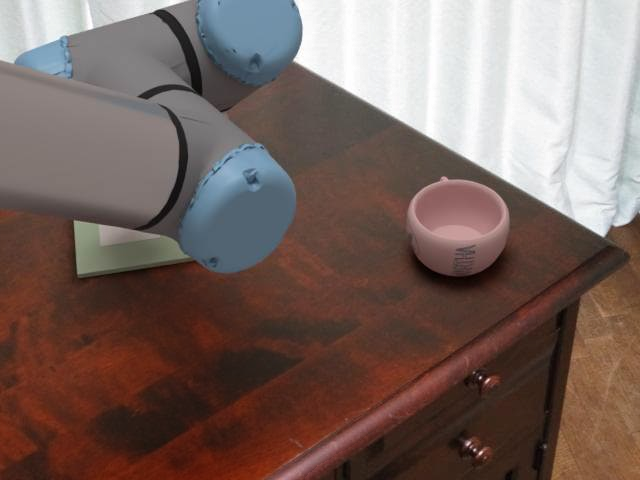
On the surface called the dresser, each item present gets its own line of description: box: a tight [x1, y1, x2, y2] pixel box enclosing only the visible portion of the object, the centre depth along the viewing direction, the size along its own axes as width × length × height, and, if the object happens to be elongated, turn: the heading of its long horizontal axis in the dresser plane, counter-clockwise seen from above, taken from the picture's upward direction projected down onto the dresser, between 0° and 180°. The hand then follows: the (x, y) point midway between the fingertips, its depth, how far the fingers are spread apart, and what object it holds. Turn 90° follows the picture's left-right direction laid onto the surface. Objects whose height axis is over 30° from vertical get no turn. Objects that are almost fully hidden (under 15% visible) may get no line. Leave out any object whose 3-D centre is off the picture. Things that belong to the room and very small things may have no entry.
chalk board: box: [73, 220, 197, 279], centre depth 121 cm, size 22×12×1 cm, turn 11°
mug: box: [405, 176, 511, 277], centre depth 113 cm, size 12×10×6 cm
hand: (103, 153), depth 111 cm, fingers closed on eraser, 3 cm apart
